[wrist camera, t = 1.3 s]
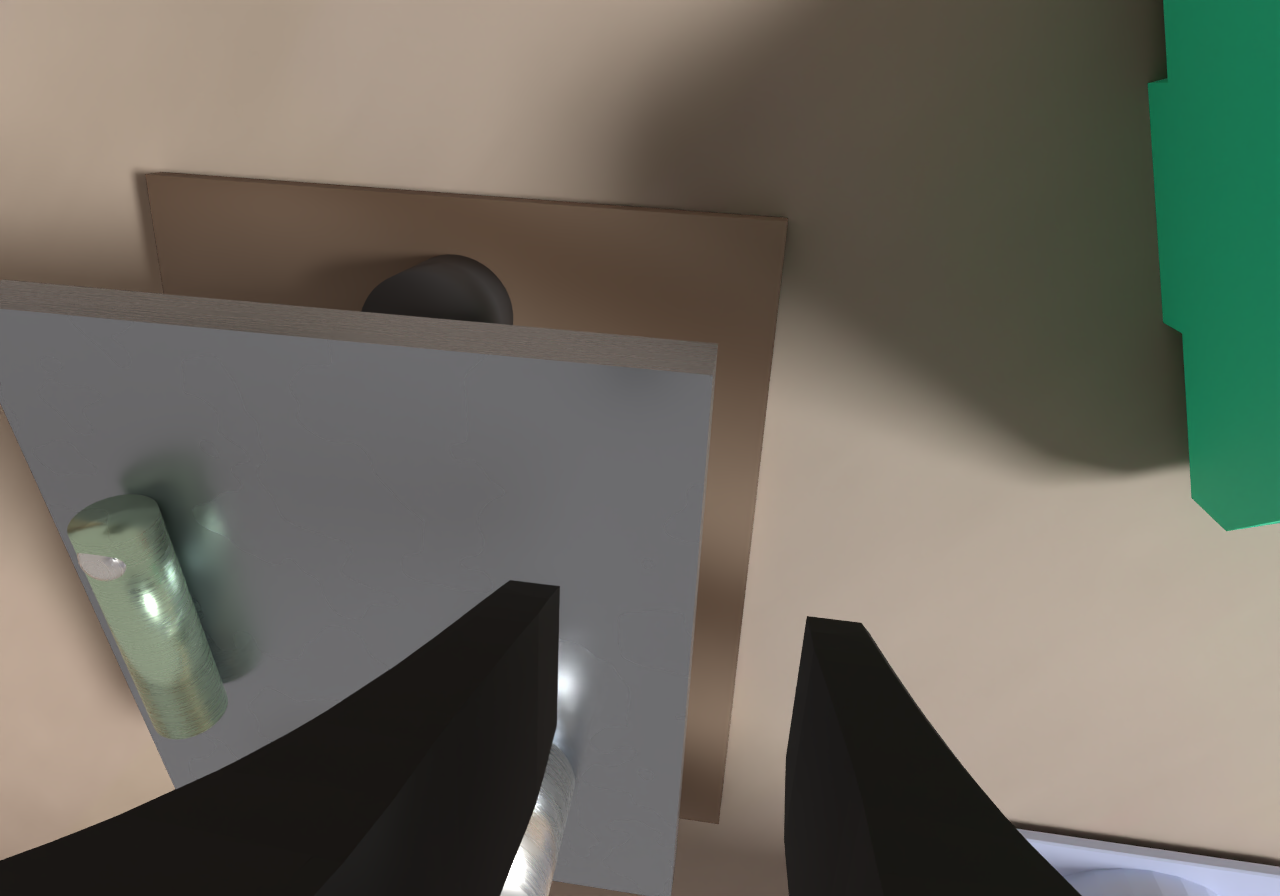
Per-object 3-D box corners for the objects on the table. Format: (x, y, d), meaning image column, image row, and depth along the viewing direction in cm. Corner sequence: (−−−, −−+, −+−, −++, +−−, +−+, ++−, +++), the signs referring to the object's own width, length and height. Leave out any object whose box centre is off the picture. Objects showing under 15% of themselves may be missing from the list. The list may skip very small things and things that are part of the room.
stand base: (718, 815, 24) (712, 897, 22) (247, 745, 26) (191, 814, 23) (787, 217, 18) (789, 237, 16) (162, 171, 20) (74, 182, 17)
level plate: (675, 859, 21) (653, 1042, 18) (212, 787, 23) (113, 946, 19) (718, 343, 13) (692, 502, 10) (2, 279, 15) (-226, 401, 11)
